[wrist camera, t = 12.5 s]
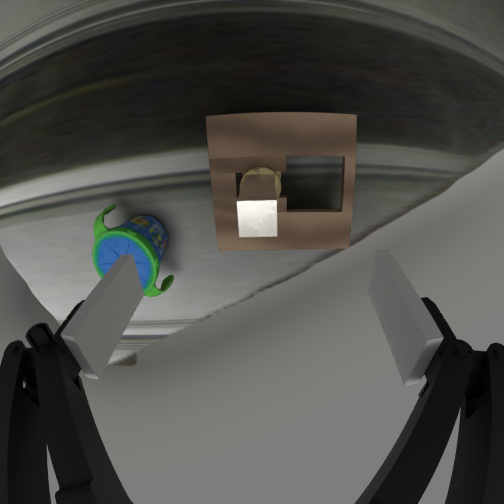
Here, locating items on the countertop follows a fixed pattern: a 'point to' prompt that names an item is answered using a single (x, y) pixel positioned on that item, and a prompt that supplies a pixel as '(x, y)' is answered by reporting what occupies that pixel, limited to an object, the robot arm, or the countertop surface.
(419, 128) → the countertop surface
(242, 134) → the keyhole bracket
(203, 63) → the countertop surface
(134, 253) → the snack cup
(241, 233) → the hanger peg
